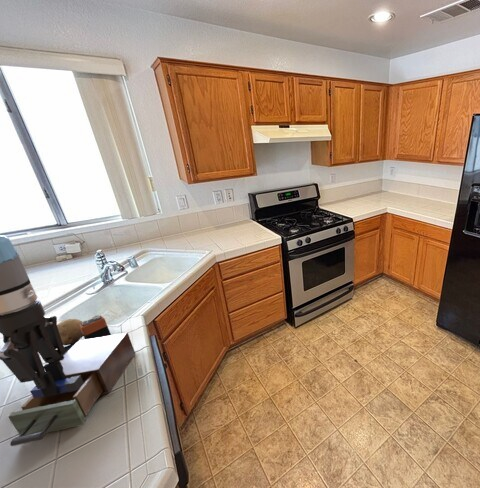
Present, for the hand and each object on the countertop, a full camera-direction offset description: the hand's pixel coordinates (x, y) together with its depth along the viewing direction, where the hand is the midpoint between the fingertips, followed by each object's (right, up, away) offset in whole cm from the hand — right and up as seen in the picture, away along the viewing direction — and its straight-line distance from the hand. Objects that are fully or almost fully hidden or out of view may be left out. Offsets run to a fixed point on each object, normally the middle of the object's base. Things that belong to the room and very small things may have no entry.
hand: (57, 389), depth 64 cm
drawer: (-4, -10, +6) cm, 12 cm away
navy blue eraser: (0, 0, 0) cm, 0 cm away
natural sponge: (-30, -2, +36) cm, 47 cm away
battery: (-20, -2, +36) cm, 41 cm away
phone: (-25, -5, +27) cm, 37 cm away
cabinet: (-7, -7, +19) cm, 21 cm away
